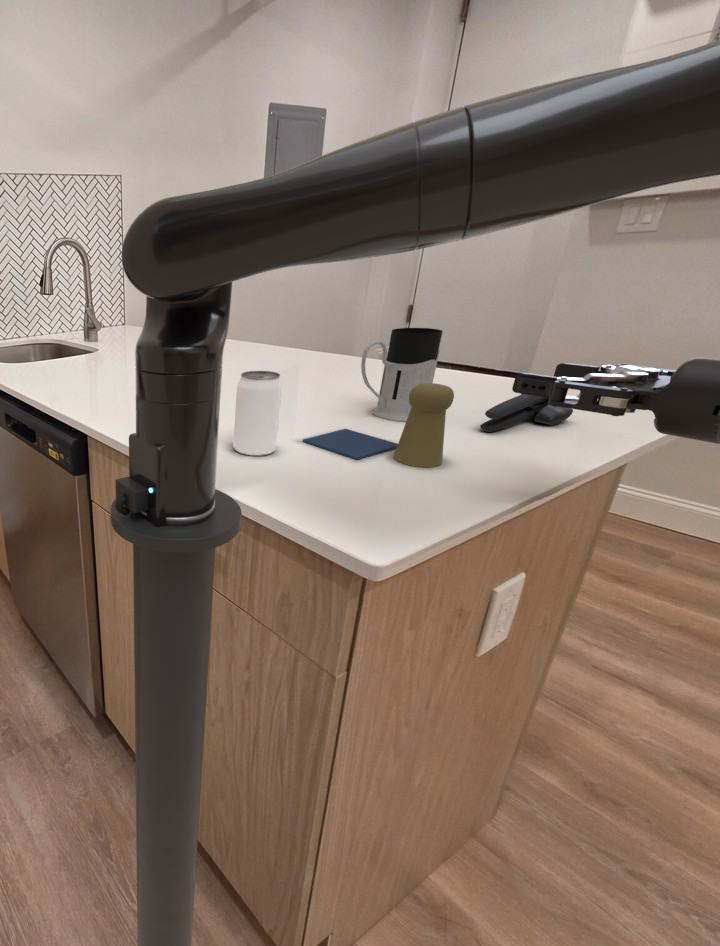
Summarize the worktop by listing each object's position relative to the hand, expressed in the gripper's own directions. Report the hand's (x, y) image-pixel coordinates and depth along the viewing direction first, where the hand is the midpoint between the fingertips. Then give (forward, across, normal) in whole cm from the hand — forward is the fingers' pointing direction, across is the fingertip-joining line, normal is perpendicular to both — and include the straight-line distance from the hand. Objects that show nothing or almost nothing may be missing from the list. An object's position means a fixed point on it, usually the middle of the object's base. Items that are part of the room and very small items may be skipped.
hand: (536, 376), depth 61 cm
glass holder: (+27, -16, +14) cm, 35 cm away
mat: (+21, +2, +14) cm, 25 cm away
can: (+27, +16, +14) cm, 35 cm away
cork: (+11, 0, +14) cm, 18 cm away
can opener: (+12, -28, +14) cm, 34 cm away
